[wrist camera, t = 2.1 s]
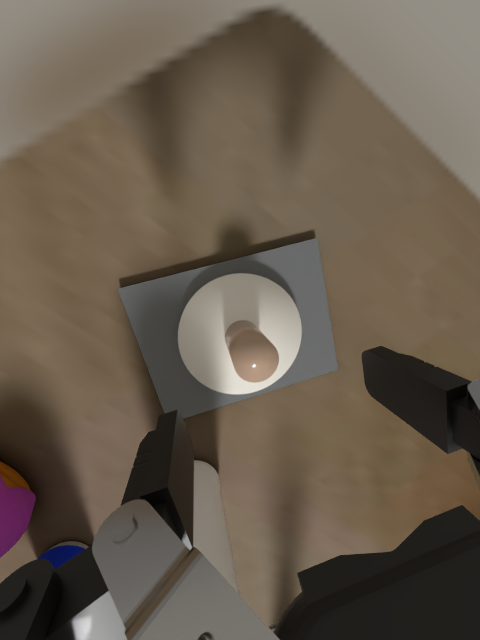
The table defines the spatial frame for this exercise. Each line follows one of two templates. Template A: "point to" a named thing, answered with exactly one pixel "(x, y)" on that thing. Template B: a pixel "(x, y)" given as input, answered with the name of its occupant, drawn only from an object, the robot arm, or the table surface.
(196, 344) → the lid
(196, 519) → the drinking glass
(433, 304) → the table surface
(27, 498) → the donut
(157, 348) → the mat
